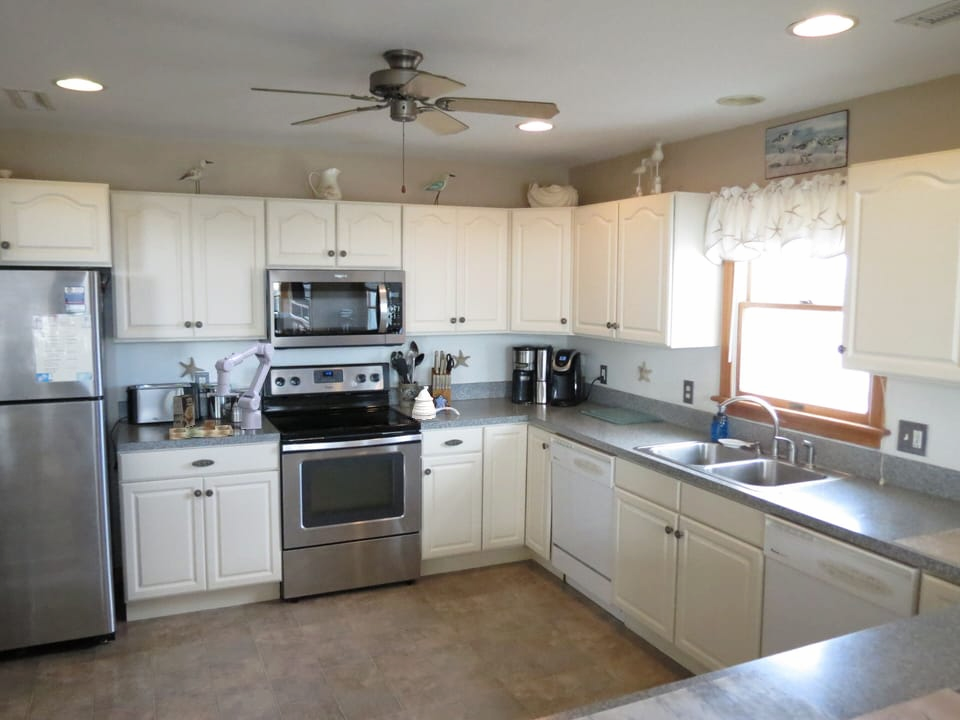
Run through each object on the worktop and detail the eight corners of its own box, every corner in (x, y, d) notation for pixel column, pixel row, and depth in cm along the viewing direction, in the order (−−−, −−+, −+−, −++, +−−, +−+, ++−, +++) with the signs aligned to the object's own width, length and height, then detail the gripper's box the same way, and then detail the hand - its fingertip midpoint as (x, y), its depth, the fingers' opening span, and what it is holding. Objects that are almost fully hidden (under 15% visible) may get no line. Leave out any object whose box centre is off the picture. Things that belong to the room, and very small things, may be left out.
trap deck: (230, 430, 366) (230, 425, 365) (233, 435, 353) (233, 430, 353) (169, 433, 355) (169, 428, 354) (169, 439, 342) (169, 434, 342)
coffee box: (184, 429, 365) (184, 397, 363) (173, 428, 366) (172, 396, 365) (195, 425, 374) (194, 394, 372) (184, 425, 375) (183, 393, 373)
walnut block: (214, 427, 358) (214, 419, 358) (215, 429, 354) (215, 421, 353) (204, 428, 356) (204, 420, 356) (205, 430, 352) (205, 422, 352)
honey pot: (419, 416, 411) (419, 384, 409) (439, 418, 405) (440, 386, 403) (407, 420, 399) (408, 387, 397) (428, 422, 394) (428, 389, 392)
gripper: (206, 384, 350) (206, 413, 350) (239, 385, 354) (238, 413, 355) (207, 383, 356) (207, 411, 357) (239, 383, 360) (238, 411, 361)
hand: (222, 412), depth 356 cm, fingers open, 7 cm apart
